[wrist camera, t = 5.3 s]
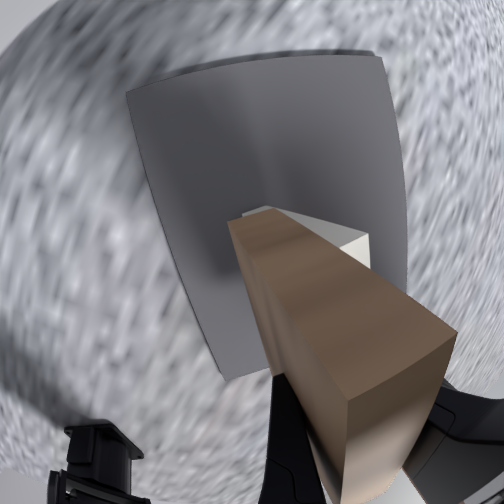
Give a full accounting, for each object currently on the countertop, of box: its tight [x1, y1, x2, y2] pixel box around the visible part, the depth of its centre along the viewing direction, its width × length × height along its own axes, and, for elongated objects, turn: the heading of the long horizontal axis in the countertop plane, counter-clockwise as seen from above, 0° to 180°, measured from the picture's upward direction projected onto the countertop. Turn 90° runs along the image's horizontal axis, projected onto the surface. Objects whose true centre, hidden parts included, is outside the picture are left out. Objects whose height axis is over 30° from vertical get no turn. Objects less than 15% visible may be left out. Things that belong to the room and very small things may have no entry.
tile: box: [242, 206, 370, 268], centre depth 14 cm, size 8×2×8 cm, turn 13°
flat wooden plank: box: [227, 208, 458, 504], centre depth 9 cm, size 9×2×9 cm, turn 13°
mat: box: [126, 55, 407, 381], centre depth 17 cm, size 20×16×1 cm
